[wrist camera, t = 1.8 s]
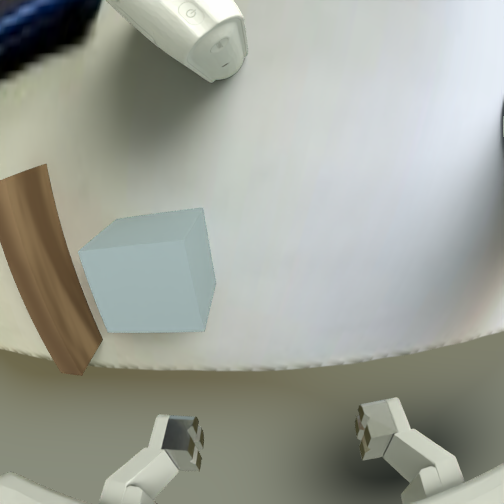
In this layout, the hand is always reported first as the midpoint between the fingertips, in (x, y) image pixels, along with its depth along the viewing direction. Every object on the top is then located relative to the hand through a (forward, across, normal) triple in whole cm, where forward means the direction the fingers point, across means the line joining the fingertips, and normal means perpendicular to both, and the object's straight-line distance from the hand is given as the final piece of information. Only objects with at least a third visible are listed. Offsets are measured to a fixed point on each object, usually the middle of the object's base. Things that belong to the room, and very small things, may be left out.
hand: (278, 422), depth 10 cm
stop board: (+17, +21, 0) cm, 27 cm away
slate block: (+17, +9, 0) cm, 20 cm away
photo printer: (+18, +4, -18) cm, 25 cm away
